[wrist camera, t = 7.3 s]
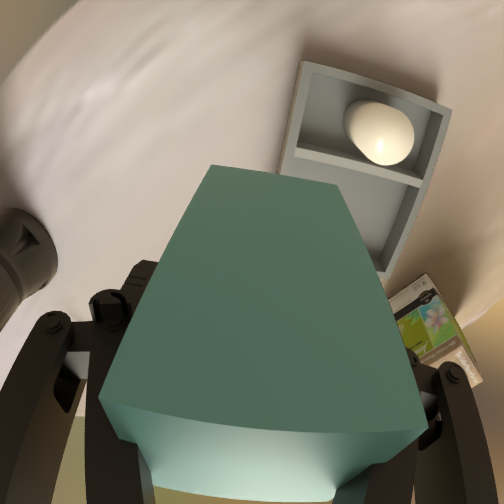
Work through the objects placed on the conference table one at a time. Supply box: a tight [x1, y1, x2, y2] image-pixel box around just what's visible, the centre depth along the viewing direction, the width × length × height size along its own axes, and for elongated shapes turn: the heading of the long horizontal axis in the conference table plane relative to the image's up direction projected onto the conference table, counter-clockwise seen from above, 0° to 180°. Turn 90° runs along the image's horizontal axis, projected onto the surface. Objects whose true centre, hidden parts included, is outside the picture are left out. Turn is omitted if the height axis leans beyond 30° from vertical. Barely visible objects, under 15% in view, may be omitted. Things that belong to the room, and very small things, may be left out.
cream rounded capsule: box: [342, 99, 414, 165], centre depth 29 cm, size 6×6×7 cm
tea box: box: [388, 274, 483, 388], centre depth 42 cm, size 15×10×15 cm
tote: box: [277, 61, 452, 280], centre depth 35 cm, size 17×23×4 cm
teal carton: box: [98, 165, 429, 502], centre depth 11 cm, size 6×6×12 cm
